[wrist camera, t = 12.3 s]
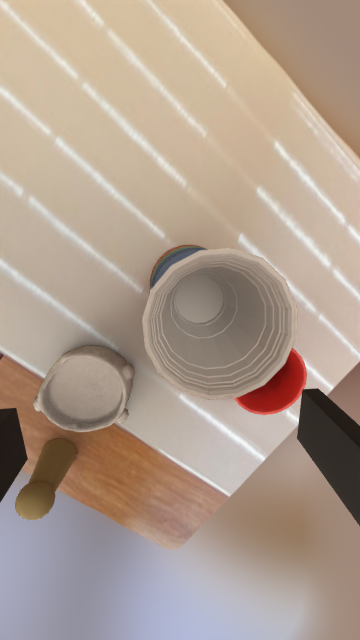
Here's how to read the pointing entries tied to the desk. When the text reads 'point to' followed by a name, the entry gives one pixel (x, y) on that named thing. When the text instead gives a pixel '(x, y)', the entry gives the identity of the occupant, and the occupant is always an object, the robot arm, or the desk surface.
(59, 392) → the dish
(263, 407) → the flower pot
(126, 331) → the desk surface
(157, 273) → the cup stack
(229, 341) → the plastic cup
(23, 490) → the wooden peg doll
